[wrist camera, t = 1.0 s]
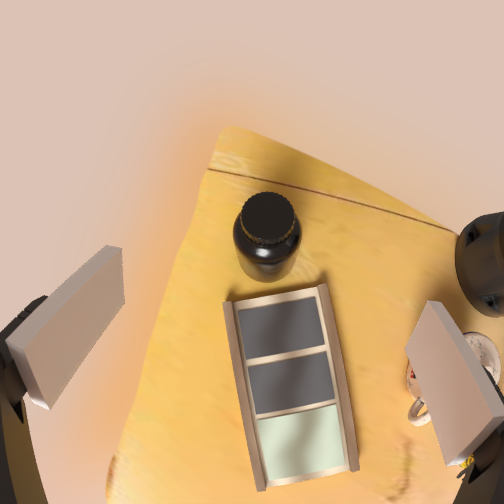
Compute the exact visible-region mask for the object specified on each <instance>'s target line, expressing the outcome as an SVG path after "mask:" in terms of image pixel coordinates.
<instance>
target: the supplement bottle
mask: <svg viewBox="0 0 504 504" xmlns="http://www.w3.org/2000/svg"><path fill="white" fill-rule="evenodd" d="M301 238H302V227H301V223H300V221H299V218H298V217H297V215H296V214H295V212H294V210H293V207H292V205H291V204H290V202H289V201H288V200H287V199H286V198H285V197H283V196H282V195H279V194H278V193H273V192H261V193H257V194H256V195H253V196H252V197H251V198H249V199H248V201H246V202H245V205H244V206H243V207H242V210H241V212H240V213H239V214H238V216H237V218H236V220H235V222H234V226H233V240H234V244H235V248H236V252H237V255H238V259H239V262H240V265H241V267H242V269H243V271H244V272H245V273H246V274H247V275H248V276H249V277H250V278H252V279H254V280H256V281H259V282H263V283H270V282H275V281H278V280H280V279H282V278H284V277H285V276H286V275H287V274H288V273H289V272H290V270H291V269H292V267H293V265H294V262H295V259H296V256H297V253H298V249H299V246H300V243H301Z"/></svg>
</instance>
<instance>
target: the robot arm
mask: <svg viewBox="0 0 504 504" xmlns="http://www.w3.org/2000/svg"><path fill="white" fill-rule="evenodd" d="M455 263H456V271H457V275H458V279H459V282H460V285H461V288H462V290H463V292H464V294H465V296H466V297H467V299H468V300H469V302H470V303H471V304H472V305H473V306H474V308H476V309H477V310H478V311H479V312H481V313H482V314H484V315H486V316H489V317H502V316H504V212H499V213H493V214H488V215H483V216H480V217H478V218H476V219H475V220H474V221H472V222H471V223H470V224H468V225H467V226H466V227H465V228H464V229H463V231H462V232H461V234H460V236H459V238H458V241H457V246H456V253H455ZM124 303H125V299H124V286H123V266H122V248H118V247H113V246H108V245H106V246H105V247H104V248H102V249H101V250H100V251H99V252H98V253H97V254H95V255H94V256H93V257H92V258H91V259H90V260H88V261H87V262H86V263H85V264H84V265H83V266H82V267H81V268H79V269H78V270H77V271H76V272H75V273H74V274H73V275H72V276H70V277H69V278H68V279H67V280H66V281H65V282H64V283H63V284H62V285H61V286H60V287H58V288H57V289H56V290H55V291H54V292H53V293H52V294H51V295H50V296H49V297H48V296H45V295H44V296H42V297H40V298H38V299H36V300H34V301H32V302H31V303H30V304H29V305H28V306H27V307H26V308H25V309H24V311H22V312H21V313H20V314H19V315H18V317H15V318H14V319H13V321H11V323H9V324H8V325H7V326H6V327H5V328H4V330H2V331H1V332H0V504H48V502H47V498H46V495H45V492H44V489H43V485H42V482H41V479H40V475H39V471H38V467H37V463H36V459H35V455H34V451H33V446H32V442H31V437H30V431H29V426H28V420H27V415H26V407H25V403H24V400H23V398H22V397H23V396H24V395H25V393H26V392H28V394H29V396H30V398H31V400H32V402H33V403H36V404H37V405H39V406H41V407H43V408H46V409H48V410H51V409H52V407H53V405H54V404H55V402H56V401H57V399H58V397H59V396H60V395H61V393H62V392H63V390H64V388H65V387H66V385H67V384H68V382H69V381H70V379H71V378H72V376H73V375H74V373H75V372H76V371H77V369H78V367H79V366H80V365H81V363H82V362H83V360H84V359H85V357H86V356H87V355H88V353H89V352H90V350H91V349H92V347H93V346H94V345H95V343H96V341H97V340H98V339H99V338H100V336H101V335H102V333H103V332H104V330H105V329H106V328H107V327H108V325H109V324H110V322H111V321H112V320H113V318H114V317H115V316H116V314H117V313H118V311H119V310H120V309H121V308H122V306H123V305H124ZM404 349H405V351H406V354H407V356H408V359H409V361H410V364H411V366H412V369H413V371H414V374H415V376H416V379H417V381H418V384H419V387H420V389H421V392H422V395H423V397H424V400H425V403H426V406H427V408H428V411H429V414H430V417H431V420H432V423H433V426H434V429H435V432H436V435H437V438H438V441H439V444H440V447H441V451H442V454H443V457H444V460H445V464H446V466H451V465H457V464H462V463H463V462H464V461H465V460H466V459H467V458H468V457H469V456H470V455H471V454H472V455H473V458H474V461H473V462H471V463H470V464H469V465H468V466H467V467H466V468H465V469H464V470H463V471H461V472H460V473H459V474H458V476H457V477H456V478H458V479H459V478H460V477H461V476H462V475H463V474H465V473H466V474H465V477H464V478H463V479H462V481H463V482H462V484H461V486H460V489H459V491H458V493H457V496H456V498H455V500H454V502H453V504H504V396H503V394H502V392H500V389H499V387H498V385H497V384H496V382H495V380H494V378H493V376H492V375H491V373H490V372H489V371H488V370H487V369H486V368H485V367H484V366H483V365H481V363H480V362H479V360H478V358H477V357H476V355H475V353H474V352H473V350H472V348H471V347H470V345H469V344H468V342H467V340H466V339H465V337H464V336H463V334H462V333H461V331H460V329H459V328H458V326H457V325H456V323H455V322H454V320H453V319H452V317H451V316H450V314H449V313H448V311H447V310H446V308H445V307H444V306H443V304H442V303H441V302H438V301H431V300H427V303H426V305H425V307H424V309H423V312H422V314H421V316H420V318H419V320H418V322H417V324H416V326H415V329H414V331H413V333H412V335H411V337H410V339H409V341H408V343H407V345H406V347H405V348H404Z"/></svg>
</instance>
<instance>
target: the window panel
mask: <svg viewBox="0 0 504 504" xmlns="http://www.w3.org/2000/svg"><path fill="white" fill-rule="evenodd" d="M222 304H223V310H224V316H225V323H226V329H227V335H228V341H229V347H230V353H231V359H232V364H233V370H234V376H235V381H236V387H237V393H238V398H239V403H240V409H241V414H242V419H243V425H244V430H245V435H246V440H247V445H248V450H249V455H250V460H251V465H252V469H253V474H254V479H255V484H256V488H257V492H260V491H266V487H273V486H279V485H285V484H290V483H296V482H301V481H306V480H310V479H315V478H319V477H324V476H328V475H332V474H336V473H339V472H343V471H347V470H350V471H351V472H355V471H358V470H360V465H359V457H358V450H357V443H356V436H355V429H354V423H353V416H352V410H351V404H350V398H349V392H348V386H347V380H346V375H345V369H344V364H343V359H342V353H341V348H340V343H339V338H338V333H337V328H336V324H335V319H334V314H333V309H332V305H331V300H330V296H329V291H328V287H327V283H325V284H320V285H318V286H317V287H313V288H307V289H302V290H297V291H292V292H287V293H281V294H276V295H270V296H265V297H259V298H254V299H248V300H242V301H236V302H231V301H227V302H222Z"/></svg>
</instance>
